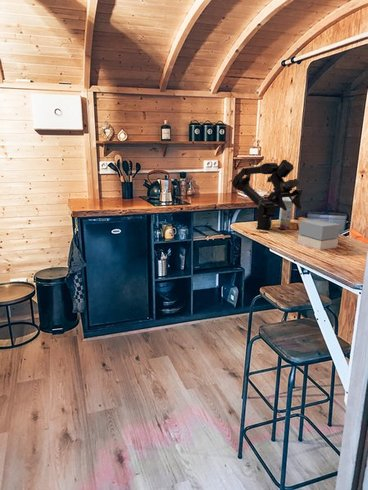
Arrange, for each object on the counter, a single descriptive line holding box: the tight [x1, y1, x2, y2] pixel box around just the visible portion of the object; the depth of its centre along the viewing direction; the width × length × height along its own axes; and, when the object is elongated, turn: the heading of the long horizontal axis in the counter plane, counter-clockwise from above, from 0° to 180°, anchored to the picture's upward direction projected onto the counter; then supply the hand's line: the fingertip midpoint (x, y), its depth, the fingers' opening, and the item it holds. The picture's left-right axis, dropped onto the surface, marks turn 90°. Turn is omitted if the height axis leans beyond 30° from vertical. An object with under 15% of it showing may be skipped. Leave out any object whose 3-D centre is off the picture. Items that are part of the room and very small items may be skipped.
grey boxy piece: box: [297, 217, 341, 240], centre depth 174 cm, size 18×11×6 cm, turn 30°
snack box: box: [278, 197, 294, 230], centre depth 212 cm, size 21×6×15 cm, turn 168°
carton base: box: [296, 234, 339, 251], centre depth 173 cm, size 13×11×4 cm
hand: (293, 209), depth 184 cm, fingers open, 9 cm apart
